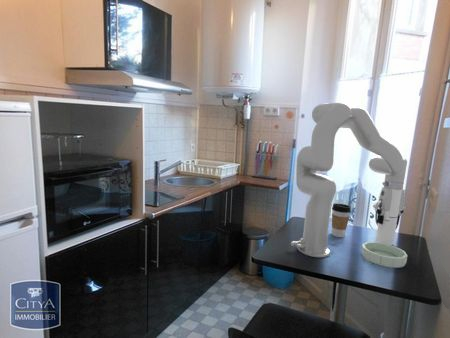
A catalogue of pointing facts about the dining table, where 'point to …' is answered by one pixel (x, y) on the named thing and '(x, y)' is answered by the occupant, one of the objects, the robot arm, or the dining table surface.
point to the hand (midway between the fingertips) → (387, 223)
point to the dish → (384, 254)
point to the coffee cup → (340, 219)
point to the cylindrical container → (389, 220)
